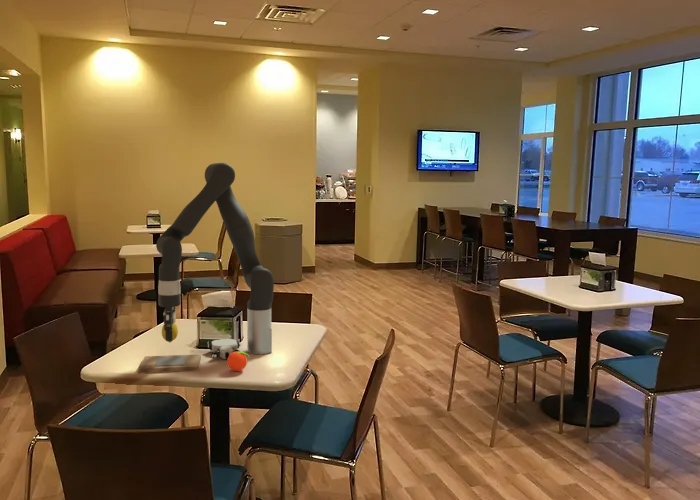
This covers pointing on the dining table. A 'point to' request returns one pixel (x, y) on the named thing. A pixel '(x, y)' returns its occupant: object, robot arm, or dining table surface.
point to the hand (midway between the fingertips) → (170, 338)
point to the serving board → (170, 363)
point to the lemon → (174, 332)
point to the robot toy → (223, 347)
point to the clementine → (237, 361)
